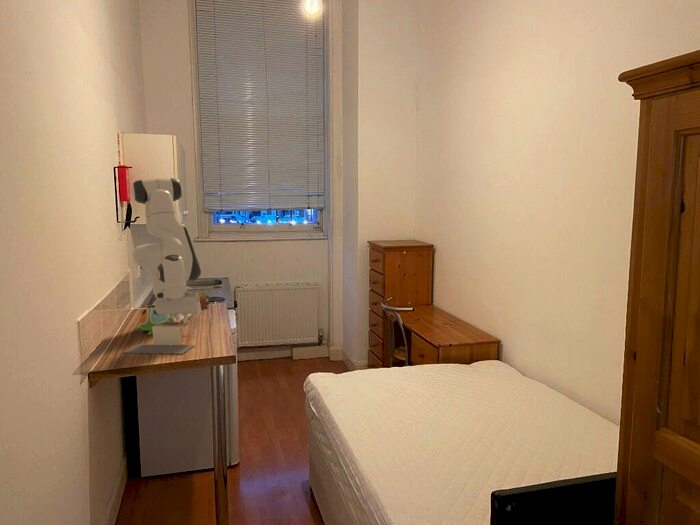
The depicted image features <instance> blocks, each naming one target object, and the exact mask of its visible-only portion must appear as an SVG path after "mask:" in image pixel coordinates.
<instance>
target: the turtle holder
mask: <svg viewBox="0 0 700 525" xmlns="http://www.w3.org/2000/svg"><path fill="white" fill-rule="evenodd" d="M152 307H153V308H152ZM174 316H175V318H176V314H175V315H174ZM138 322H139V325H140V326H139V328H140V330H142V332H147V331H148V332H147V334H151V335H153V332H152V327H153V326H155V325H164V323H163V322H173V320H172V319H171V318H170V316H169V314H157V313H156V312H155V305H152V304H149V305H147V306H145V307H144V309H143V310H142V311H141V313H140V317H139V321H138Z"/></svg>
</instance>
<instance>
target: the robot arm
mask: <svg viewBox="0 0 700 525" xmlns="http://www.w3.org/2000/svg"><path fill="white" fill-rule="evenodd" d="M182 194H183V186H182V184H181V181H180V180H179V179H178V178H172V177H170V178H167V177H166V178H165V177H163V178H161V177H156V178H149V179H143V180H142V179H139V180H135V181H134V182H133V183H132V186H131V195H132V197H133V199H134V201H135V202H137V203H139V204H143V205H144V212H145V213H144V215H145V223H146V224H145V226H146V230H147V232H148V234H150V235H151V236H153V237H155V238H159V239H160V240H161V242H155V243H145V244H142V245H138V246H136V247H135V248H134V250H133V253H132V259H133V261H134V263H135V264H136V265H137V266H139V267H140V268H142V269H143V270H144V271H146V273H147V274H148V275H149V278H150V280H151V283H152V284H151V286H152V292H153V294H152V301H153V303H152V304H151V305H155V312H156V313H157V314H169V316H170V318H171V319H172V320H173V322H175V321H177V320H179V319H181V318H183V317H184V318H183V319H182V320H181V324H186V318H187V316H191V317H192V316H193V315H197V314H200V313H201V311H202V308H201V305H200V301H199V300H200V298H199V295H198V294H196V293H197V292H194V291H193V292H189V291H188V288H187V283H186V282H194V281H196V280H198V279H199V278H200V276H201V275H202V268H201V265H200V262H199V260H198V258H197V256H196V252H195V249H194V246H193V243H192V240H191V237H190V234H189V231H188V229H187V227H186V225H185V224H183V223H181V222H180V221H179V218H178V216H177V211H176V206H175V203H174V202H176V201H178V200H180V199H181V198H182V196H183V195H182ZM151 308H153V307H151ZM175 314H176V318H175V316H174V315H175Z"/></svg>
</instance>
